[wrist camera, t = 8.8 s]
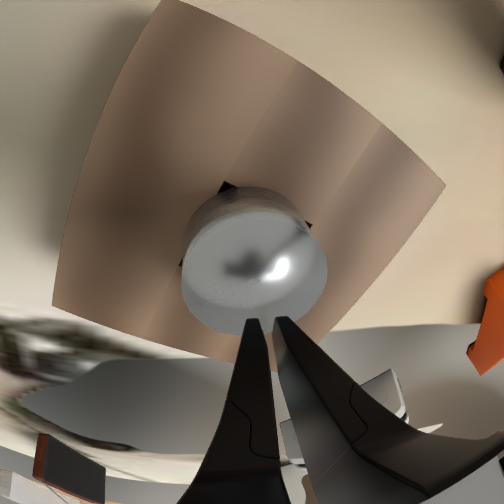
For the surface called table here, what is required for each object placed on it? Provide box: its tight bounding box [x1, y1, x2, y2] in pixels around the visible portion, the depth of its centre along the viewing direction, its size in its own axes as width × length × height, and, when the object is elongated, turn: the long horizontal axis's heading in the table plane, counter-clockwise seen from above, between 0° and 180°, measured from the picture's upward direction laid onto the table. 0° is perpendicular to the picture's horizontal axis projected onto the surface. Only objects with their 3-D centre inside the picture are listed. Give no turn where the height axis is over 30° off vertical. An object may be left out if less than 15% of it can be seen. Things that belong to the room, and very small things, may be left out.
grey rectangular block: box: [0, 470, 80, 504], centre depth 59 cm, size 32×11×11 cm, turn 22°
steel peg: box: [181, 181, 328, 336], centre depth 15 cm, size 6×6×8 cm
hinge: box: [280, 368, 409, 470], centre depth 32 cm, size 17×5×10 cm, turn 123°
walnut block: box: [52, 0, 446, 372], centre depth 16 cm, size 16×16×5 cm
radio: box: [33, 434, 106, 504], centre depth 33 cm, size 19×3×15 cm, turn 13°
